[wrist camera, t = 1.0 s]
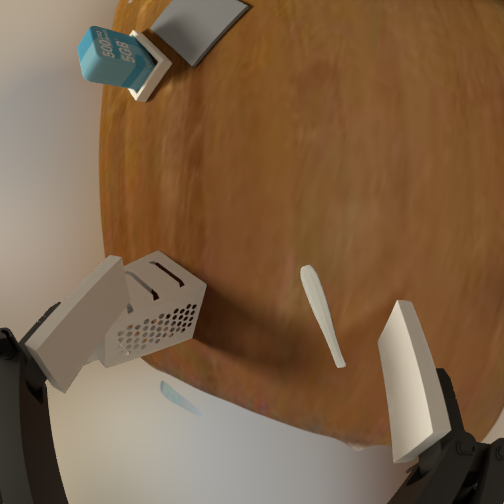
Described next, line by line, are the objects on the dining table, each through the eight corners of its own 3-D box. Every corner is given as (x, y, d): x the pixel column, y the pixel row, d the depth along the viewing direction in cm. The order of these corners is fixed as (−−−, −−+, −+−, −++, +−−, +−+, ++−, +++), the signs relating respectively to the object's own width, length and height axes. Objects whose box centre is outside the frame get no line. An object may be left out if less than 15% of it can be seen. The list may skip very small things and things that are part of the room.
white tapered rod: (320, 261, 30) (296, 269, 31) (375, 440, 30) (355, 442, 31) (321, 260, 30) (297, 268, 32) (375, 437, 30) (356, 439, 32)
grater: (207, 284, 39) (78, 339, 22) (192, 338, 43) (87, 397, 26) (158, 250, 43) (40, 281, 26) (149, 302, 47) (49, 342, 30)
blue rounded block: (160, 73, 36) (97, 57, 26) (144, 92, 39) (82, 81, 29) (142, 39, 37) (89, 24, 27) (128, 56, 40) (76, 44, 30)
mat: (193, -19, 30) (191, -21, 29) (249, 7, 27) (247, 5, 26) (152, 29, 36) (150, 28, 35) (194, 67, 33) (192, 66, 32)
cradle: (141, 32, 37) (133, 29, 36) (172, 63, 35) (163, 59, 33) (119, 65, 41) (111, 63, 40) (145, 102, 39) (136, 100, 37)
